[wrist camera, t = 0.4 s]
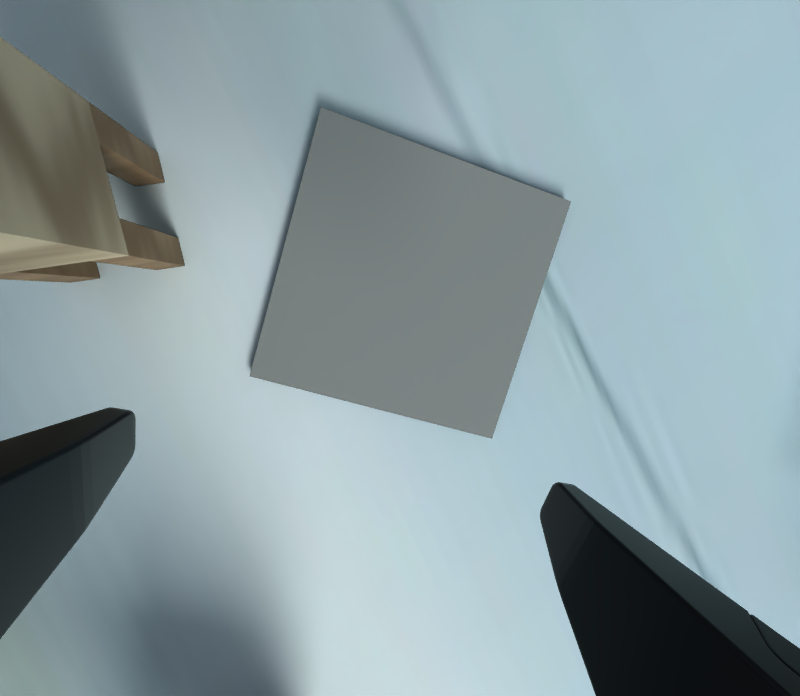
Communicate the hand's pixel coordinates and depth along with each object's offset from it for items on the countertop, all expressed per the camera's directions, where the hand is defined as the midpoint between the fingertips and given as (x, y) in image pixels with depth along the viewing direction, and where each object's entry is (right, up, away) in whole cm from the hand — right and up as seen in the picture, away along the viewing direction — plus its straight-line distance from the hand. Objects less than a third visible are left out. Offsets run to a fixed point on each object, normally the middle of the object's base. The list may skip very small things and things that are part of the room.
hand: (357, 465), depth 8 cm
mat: (+2, +6, +13) cm, 14 cm away
